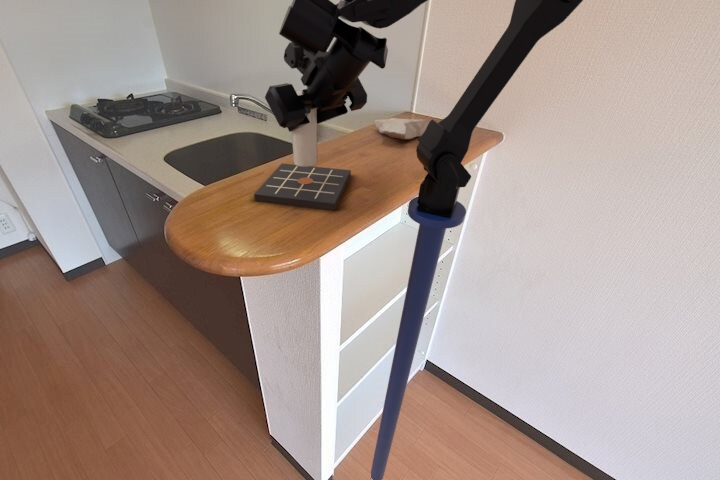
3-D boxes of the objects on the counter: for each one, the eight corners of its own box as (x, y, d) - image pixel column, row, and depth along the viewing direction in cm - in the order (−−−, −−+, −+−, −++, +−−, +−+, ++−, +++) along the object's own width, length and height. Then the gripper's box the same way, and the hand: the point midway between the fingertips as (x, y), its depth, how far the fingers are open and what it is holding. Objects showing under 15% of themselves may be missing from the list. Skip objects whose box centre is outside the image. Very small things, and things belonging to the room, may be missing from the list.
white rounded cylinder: (321, 160, 71) (321, 89, 63) (310, 168, 68) (308, 94, 60) (301, 156, 73) (298, 86, 65) (288, 164, 69) (284, 92, 61)
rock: (353, 139, 98) (401, 146, 89) (353, 122, 95) (402, 127, 87) (393, 128, 112) (438, 132, 103) (394, 112, 109) (440, 115, 101)
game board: (350, 176, 78) (350, 169, 77) (334, 210, 66) (334, 203, 65) (282, 169, 81) (281, 162, 80) (254, 200, 69) (253, 193, 68)
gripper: (359, 17, 58) (317, 82, 72) (264, 23, 49) (236, 96, 62) (391, 77, 58) (343, 130, 72) (302, 94, 49) (266, 152, 62)
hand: (299, 126), depth 67 cm, fingers closed on white rounded cylinder, 5 cm apart
